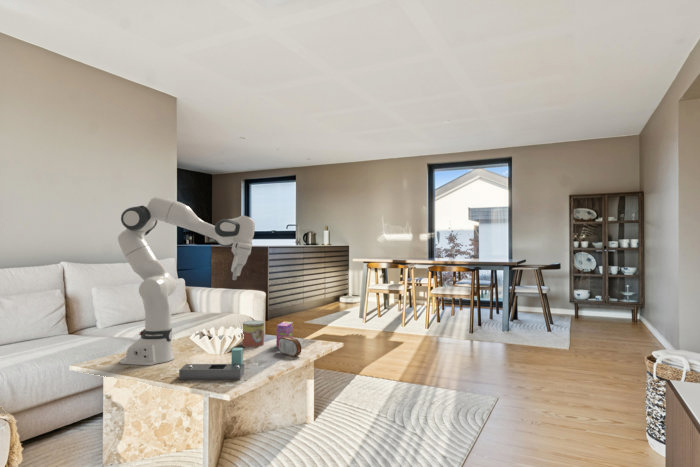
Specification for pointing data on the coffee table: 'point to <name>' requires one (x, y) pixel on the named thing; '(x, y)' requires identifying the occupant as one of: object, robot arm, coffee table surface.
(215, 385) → the coffee table surface
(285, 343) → the tin
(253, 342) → the canned food
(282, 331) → the box
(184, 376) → the grey slotted base
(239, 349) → the peg
